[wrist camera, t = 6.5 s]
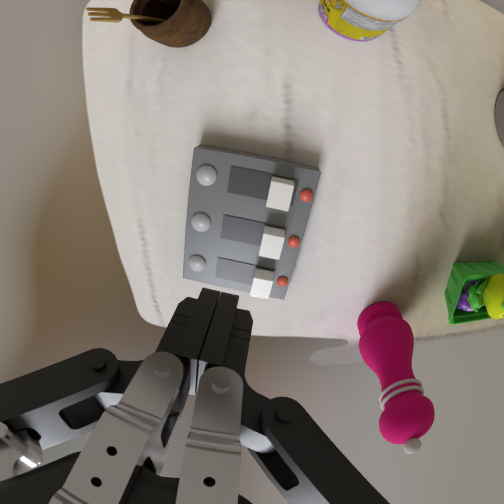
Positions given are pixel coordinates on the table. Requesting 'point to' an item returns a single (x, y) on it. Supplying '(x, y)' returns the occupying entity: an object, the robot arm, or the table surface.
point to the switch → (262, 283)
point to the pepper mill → (395, 375)
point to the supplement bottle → (364, 16)
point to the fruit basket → (475, 292)
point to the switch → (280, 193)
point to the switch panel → (242, 217)
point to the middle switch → (272, 242)
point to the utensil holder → (164, 20)
